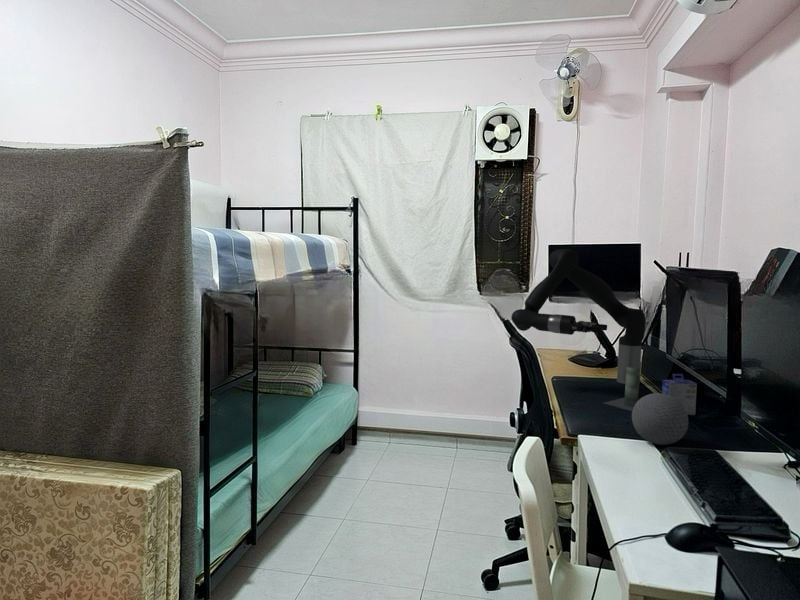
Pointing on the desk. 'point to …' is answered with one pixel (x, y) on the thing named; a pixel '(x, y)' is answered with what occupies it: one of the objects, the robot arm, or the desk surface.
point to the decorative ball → (660, 419)
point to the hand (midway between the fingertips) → (604, 328)
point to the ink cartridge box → (681, 392)
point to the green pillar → (632, 385)
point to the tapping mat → (620, 404)
